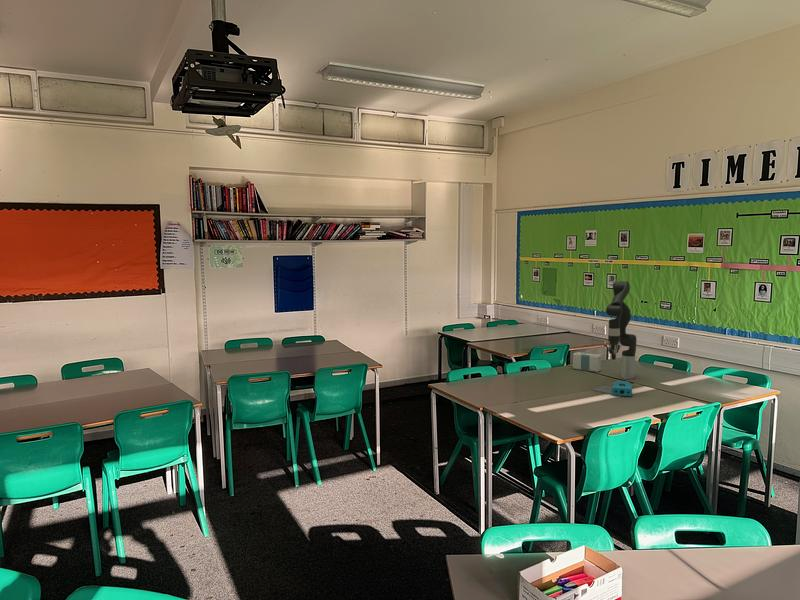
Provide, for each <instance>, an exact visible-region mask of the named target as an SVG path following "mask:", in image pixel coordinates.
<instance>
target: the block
mask: <svg viewBox="0 0 800 600" xmlns="http://www.w3.org/2000/svg"><path fill="white" fill-rule="evenodd" d="M612 387H613V389H612V394H613V395H612V396H614V395H616V396H621V397H632V396H633V385H632V384H631V383H630V382H629V381H628V380H627V381H626V380H625V381H624V380H616V381H614V382H613V383H612Z"/></svg>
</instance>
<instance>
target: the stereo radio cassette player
mask: <svg viewBox="0 0 800 600" xmlns="http://www.w3.org/2000/svg"><path fill="white" fill-rule="evenodd" d="M598 347H599V348H600V346H598ZM595 349H596V347H594V348H591V349H589V350H587V351H584V352H579V351H577V352H576V351H575V352H574V353H572V368H573V369H574V370H580V371H588V372H596V373H599V372H600V371H601V370H602V369H601V368H602V354H597V353H589V351H593V350H595ZM587 352H588V353H587Z"/></svg>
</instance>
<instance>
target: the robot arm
mask: <svg viewBox="0 0 800 600" xmlns="http://www.w3.org/2000/svg"><path fill="white" fill-rule="evenodd" d="M630 290H631V286H630V283H629V281H625V280H623V281H622V280H621V281H618V280H617V281H614V282H613V283H612V292H613V297H612V300H611V302H610V303H609V304H608V305H607V306H606V309H605V314H606V315H607V316H608V317H616V318H612V319H609V320H608V330H607V331H608V332H607V338H608V339H607V341H608V342H609V343H608V345H609V346H607V347H606V349H607V351H608V353H609V354H610V355H611V360H612V361H613V360H614V361H615V360H617V354H618V353H619V351H620V349H621V347H622V346H623V347H628V348H627V349H626V350H623V351H622V352H621V379H625V380H635V379H636V352H637V336H636V335H635V334H631V333H627V332H626V330H627V327H628V325H629V323H630V321H631V318H632V314H631V309H630V307H629V306H628V305H627V304H626V303H625V301H624V300H625V299H626V297H627V296H628V294H629V292H630Z"/></svg>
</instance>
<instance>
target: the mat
mask: <svg viewBox="0 0 800 600" xmlns="http://www.w3.org/2000/svg"><path fill="white" fill-rule="evenodd" d="M612 389H613V386H607V385H603V386H599V387H596V388H592V389H591V391H594V392H598V393H602V394H606V395H611V396H617V395H613V394H612Z"/></svg>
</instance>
